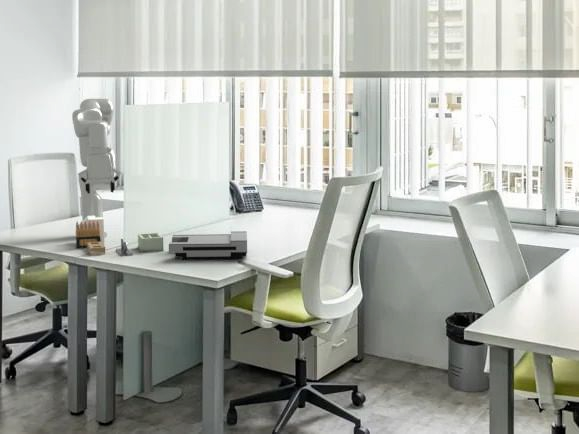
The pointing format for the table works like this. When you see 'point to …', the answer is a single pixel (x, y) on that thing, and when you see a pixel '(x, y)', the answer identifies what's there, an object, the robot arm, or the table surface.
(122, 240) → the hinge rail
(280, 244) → the table surface
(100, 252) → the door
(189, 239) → the grey printer
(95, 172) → the robot arm
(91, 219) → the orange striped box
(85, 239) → the ammunition clip
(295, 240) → the table surface
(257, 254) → the table surface
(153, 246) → the green compartment box
